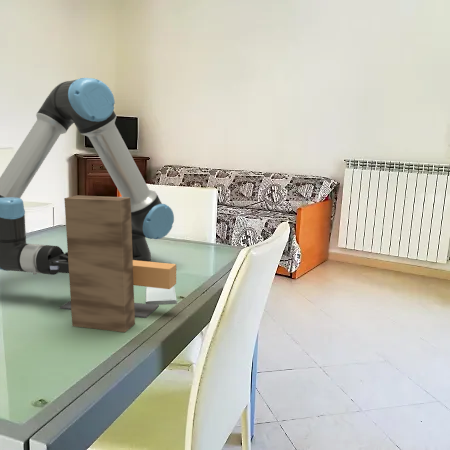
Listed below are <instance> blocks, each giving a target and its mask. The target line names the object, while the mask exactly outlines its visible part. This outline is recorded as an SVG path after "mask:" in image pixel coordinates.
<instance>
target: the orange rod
mask: <svg viewBox="0 0 450 450" xmlns="http://www.w3.org/2000/svg"><path fill="white" fill-rule="evenodd" d="M133 282H134V286H136V287H137V286H138V287H145V288H146V287H154V288H163V289H170V288H172V287H173V286H174V287H175V285H176V284H177V264H176V263H167V262H166V263H165V262H157V261H156V262H155V261H137V260H133Z"/></svg>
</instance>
